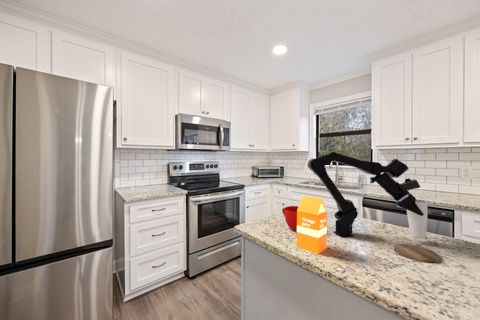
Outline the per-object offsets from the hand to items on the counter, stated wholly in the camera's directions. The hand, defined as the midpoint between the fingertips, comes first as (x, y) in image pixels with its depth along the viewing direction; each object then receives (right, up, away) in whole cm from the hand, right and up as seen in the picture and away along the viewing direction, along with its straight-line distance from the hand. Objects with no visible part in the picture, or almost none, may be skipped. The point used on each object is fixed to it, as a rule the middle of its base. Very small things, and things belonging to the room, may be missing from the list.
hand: (420, 213), depth 86 cm
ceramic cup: (-48, -12, +18) cm, 53 cm away
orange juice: (-47, -13, -4) cm, 49 cm away
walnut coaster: (-10, -13, -9) cm, 19 cm away
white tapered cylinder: (-1, -10, +1) cm, 10 cm away
